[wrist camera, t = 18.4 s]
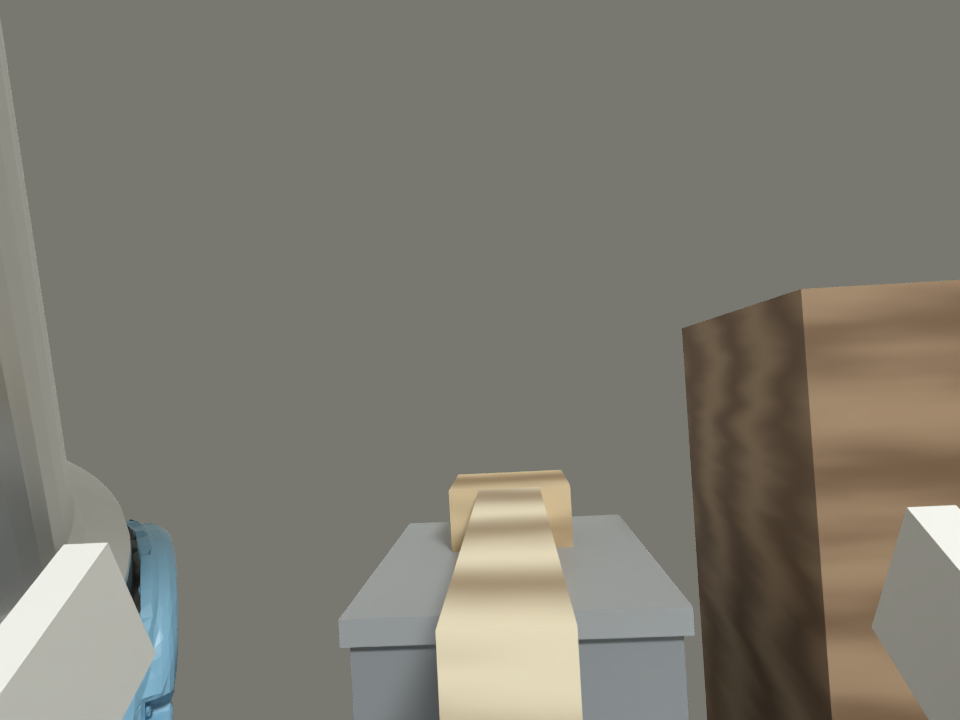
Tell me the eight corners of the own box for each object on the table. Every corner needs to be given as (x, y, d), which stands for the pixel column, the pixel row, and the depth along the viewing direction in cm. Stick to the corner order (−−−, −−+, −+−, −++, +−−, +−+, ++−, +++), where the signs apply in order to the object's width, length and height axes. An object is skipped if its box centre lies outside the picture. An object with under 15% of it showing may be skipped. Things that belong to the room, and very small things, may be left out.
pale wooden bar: (657, 769, 14) (649, 622, 14) (371, 777, 14) (365, 633, 14) (563, 521, 39) (560, 470, 39) (461, 526, 39) (458, 474, 39)
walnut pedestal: (1169, 1160, 22) (1090, 272, 24) (863, 1159, 23) (800, 289, 24) (886, 825, 39) (848, 319, 41) (714, 829, 40) (682, 328, 41)
